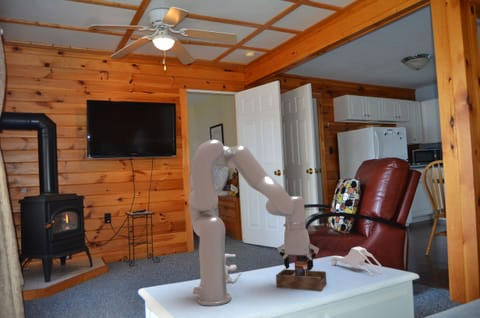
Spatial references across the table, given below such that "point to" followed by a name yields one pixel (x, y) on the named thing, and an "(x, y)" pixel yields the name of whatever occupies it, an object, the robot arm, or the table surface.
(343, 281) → the table surface
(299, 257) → the supplement bottle
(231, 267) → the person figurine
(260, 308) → the table surface
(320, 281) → the brown wooden box
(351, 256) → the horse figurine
